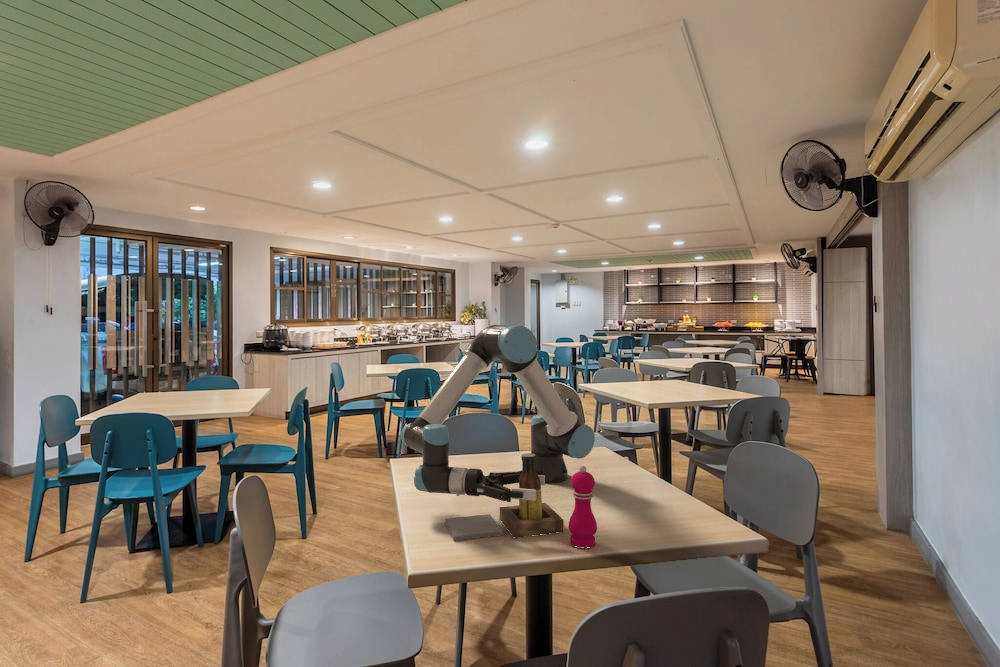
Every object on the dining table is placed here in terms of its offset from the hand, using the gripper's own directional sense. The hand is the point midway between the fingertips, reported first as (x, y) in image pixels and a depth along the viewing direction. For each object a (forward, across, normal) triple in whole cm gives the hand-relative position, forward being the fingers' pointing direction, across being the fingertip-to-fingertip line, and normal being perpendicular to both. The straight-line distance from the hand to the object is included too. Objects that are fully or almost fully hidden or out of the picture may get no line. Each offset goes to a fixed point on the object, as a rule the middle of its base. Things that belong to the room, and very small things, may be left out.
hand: (540, 487), depth 145 cm
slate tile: (-18, +6, -11) cm, 22 cm away
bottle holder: (-3, 0, -11) cm, 11 cm away
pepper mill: (+12, +8, -11) cm, 19 cm away
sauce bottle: (-3, 0, -11) cm, 12 cm away
